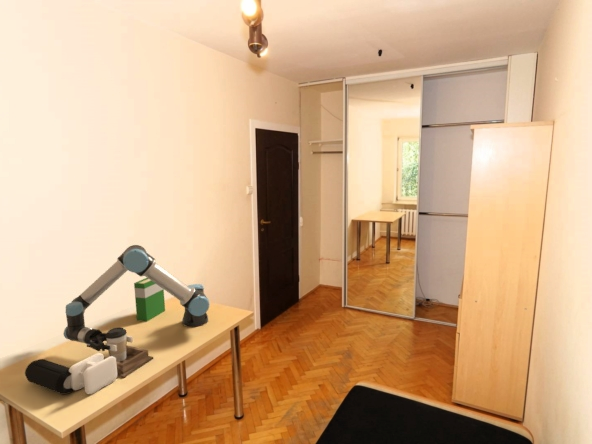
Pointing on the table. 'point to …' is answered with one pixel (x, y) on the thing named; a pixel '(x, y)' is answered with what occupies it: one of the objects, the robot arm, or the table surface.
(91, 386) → the cable organizer
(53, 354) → the table surface
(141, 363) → the brown wooden tray
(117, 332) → the coffee cup
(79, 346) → the table surface
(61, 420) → the table surface
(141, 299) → the hardback book
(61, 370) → the portable speaker
